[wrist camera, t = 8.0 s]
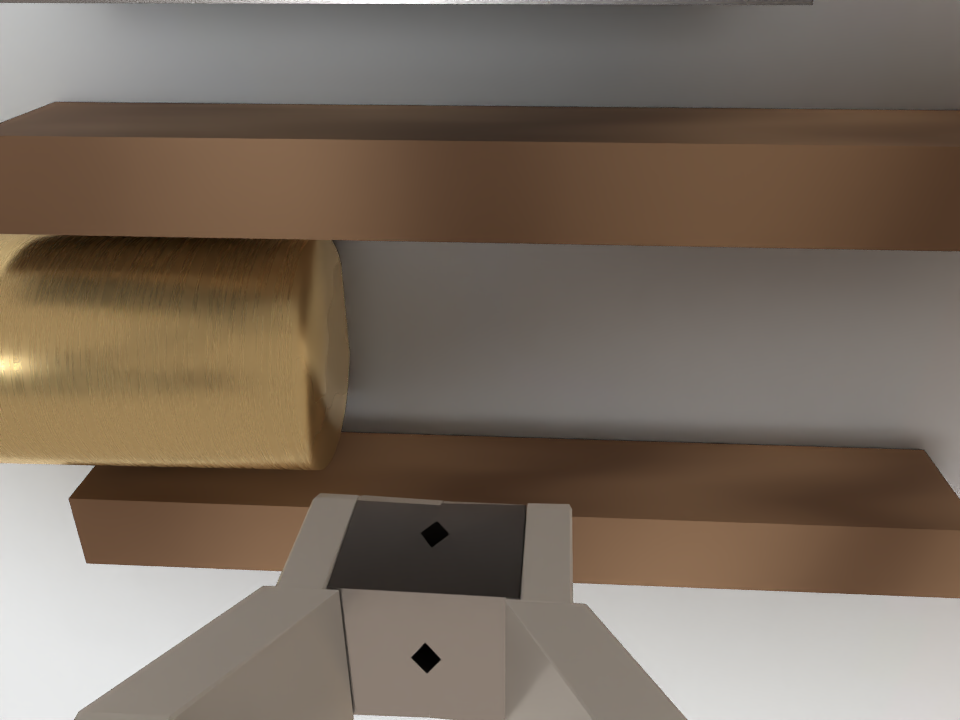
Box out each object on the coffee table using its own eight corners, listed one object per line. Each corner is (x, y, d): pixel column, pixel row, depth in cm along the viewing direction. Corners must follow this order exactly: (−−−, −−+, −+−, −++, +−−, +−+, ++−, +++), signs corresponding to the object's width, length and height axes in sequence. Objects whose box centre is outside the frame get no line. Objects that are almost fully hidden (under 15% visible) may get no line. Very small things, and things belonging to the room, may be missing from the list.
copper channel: (1019, 110, 14) (1111, 148, 12) (906, 511, 17) (960, 598, 15) (54, 101, 15) (-32, 135, 12) (141, 485, 18) (86, 563, 16)
